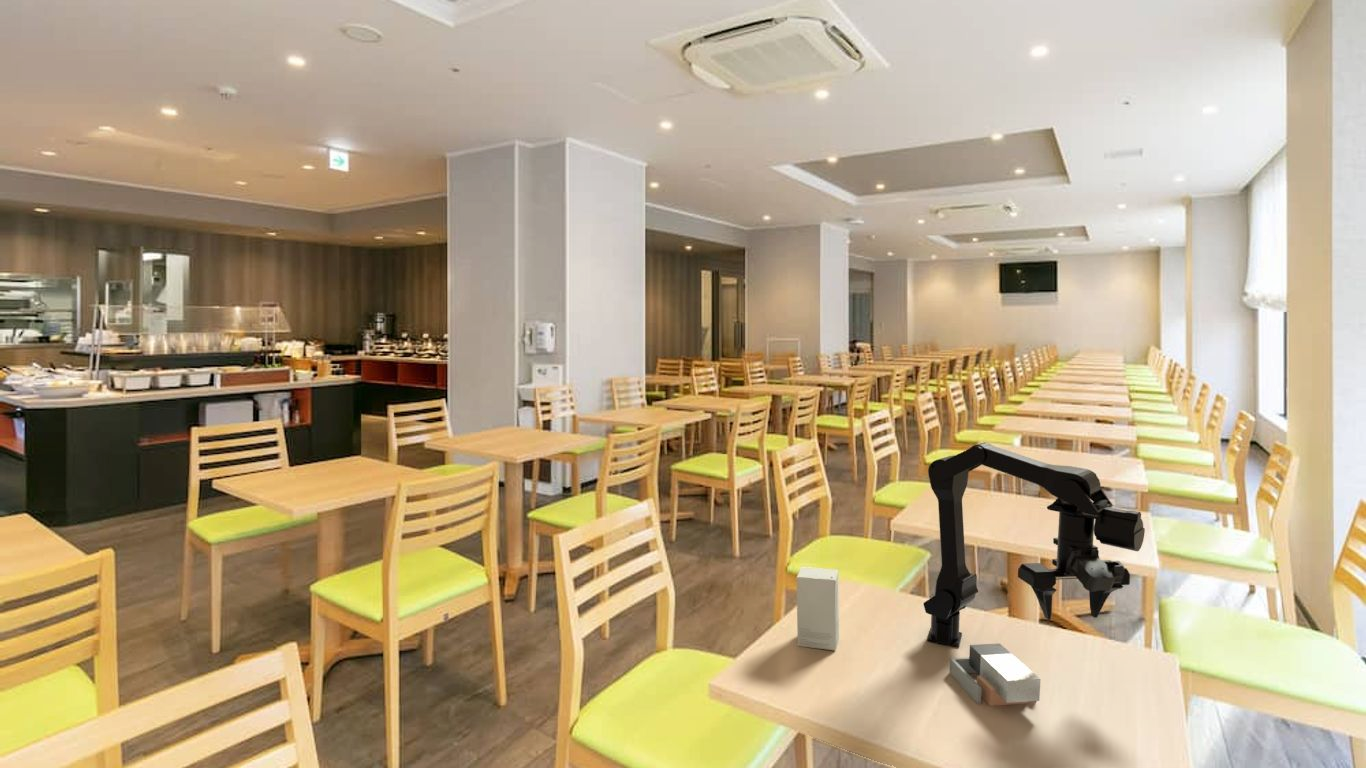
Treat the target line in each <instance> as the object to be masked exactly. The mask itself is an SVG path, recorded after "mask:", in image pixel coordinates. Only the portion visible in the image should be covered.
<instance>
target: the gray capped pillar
mask: <svg viewBox="0 0 1366 768" xmlns="http://www.w3.org/2000/svg"><path fill="white" fill-rule="evenodd" d="M968 657H969V665H970V666H971V667H972V668H973V669H974V670H975V671H976V672H977V673H976V674H978V675H980V676H981V677H982V678H983V679H984V680H985V681H986V682H987V683H988V685H989V686H990V687H991V688H992V689H993V690H994V691H995V692H996V693H997V694H998V695H999V696H1000V697H1001V698H1002V699H1003V700H1004V701H1005V702H1006V703H1011V702H1027V701H1028V702H1039V701H1040V698H1041V697H1040V696H1041V694H1040V693H1041V692H1040V691H1041V678H1040V677H1039V676H1038V675H1036V674H1035V673H1034V672H1033V671H1032V670H1031V669H1030V668H1029V667H1028V666H1026V665H1025V664H1024V663H1023V662H1021V661H1020V660H1019V659H1018V658H1017V657H1016V656H1015V655H1013V653H1012V652H1010V651H1009V650H1008V649H1007V648H1005V646H1004V645H1002V644H1001V643H983V644H982V643H980V644H969V656H968Z"/></svg>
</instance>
